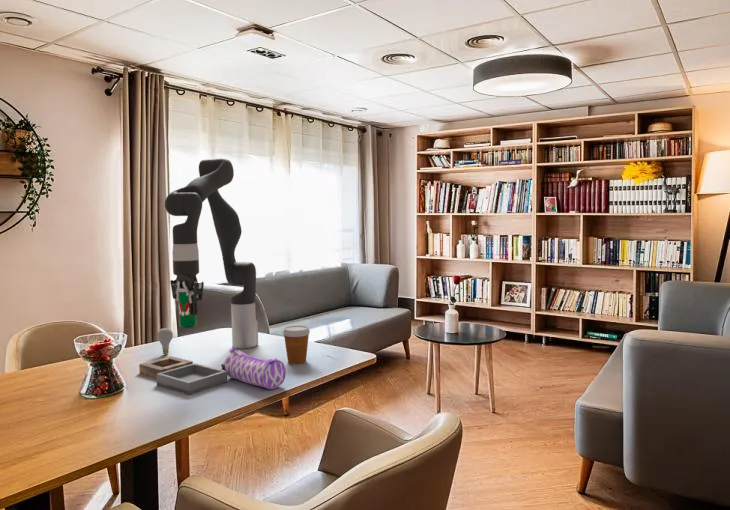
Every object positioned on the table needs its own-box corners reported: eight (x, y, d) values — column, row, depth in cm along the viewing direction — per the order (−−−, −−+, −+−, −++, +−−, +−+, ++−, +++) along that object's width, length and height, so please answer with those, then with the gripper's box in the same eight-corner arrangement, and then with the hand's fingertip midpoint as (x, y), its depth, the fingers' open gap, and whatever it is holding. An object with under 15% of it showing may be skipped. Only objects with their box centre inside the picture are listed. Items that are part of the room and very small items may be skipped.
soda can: (199, 325, 166) (198, 286, 165) (192, 328, 161) (191, 288, 160) (183, 324, 166) (182, 286, 166) (176, 328, 161) (174, 288, 161)
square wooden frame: (171, 364, 186) (171, 356, 186) (193, 370, 179) (192, 361, 179) (139, 373, 176) (139, 364, 176) (161, 379, 169) (160, 370, 169)
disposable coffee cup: (278, 364, 185) (277, 329, 184) (292, 357, 194) (291, 324, 193) (302, 366, 182) (301, 331, 181) (315, 359, 190) (314, 326, 190)
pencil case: (220, 379, 169) (219, 350, 168) (244, 372, 176) (244, 344, 175) (266, 394, 155) (265, 362, 154) (290, 386, 162) (289, 355, 161)
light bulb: (176, 353, 201) (175, 327, 201) (165, 357, 196) (164, 330, 196) (165, 352, 204) (164, 326, 203) (154, 355, 199) (153, 328, 198)
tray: (195, 373, 175) (195, 363, 175) (227, 382, 166) (227, 371, 165) (156, 385, 164) (156, 373, 164) (189, 394, 154) (188, 382, 154)
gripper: (210, 258, 161) (212, 314, 162) (182, 257, 170) (184, 310, 171) (189, 260, 155) (191, 318, 156) (161, 258, 164) (163, 313, 165)
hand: (187, 313), depth 163 cm, fingers closed on soda can, 5 cm apart
